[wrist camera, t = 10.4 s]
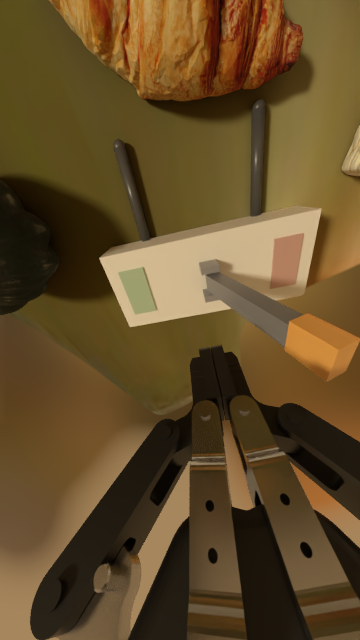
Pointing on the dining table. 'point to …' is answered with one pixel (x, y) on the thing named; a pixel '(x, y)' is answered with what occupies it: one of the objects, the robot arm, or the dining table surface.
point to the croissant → (187, 43)
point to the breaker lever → (289, 327)
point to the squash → (22, 253)
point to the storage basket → (353, 157)
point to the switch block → (211, 251)
